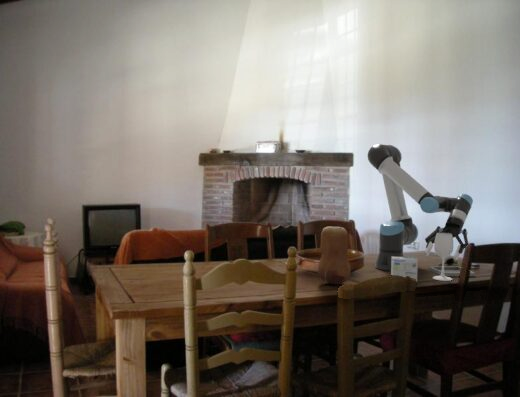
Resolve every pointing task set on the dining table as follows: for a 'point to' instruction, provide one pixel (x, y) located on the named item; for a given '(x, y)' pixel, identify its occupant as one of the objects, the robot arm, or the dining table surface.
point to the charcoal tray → (448, 270)
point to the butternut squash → (334, 256)
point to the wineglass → (443, 251)
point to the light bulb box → (404, 266)
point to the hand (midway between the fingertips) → (440, 256)
